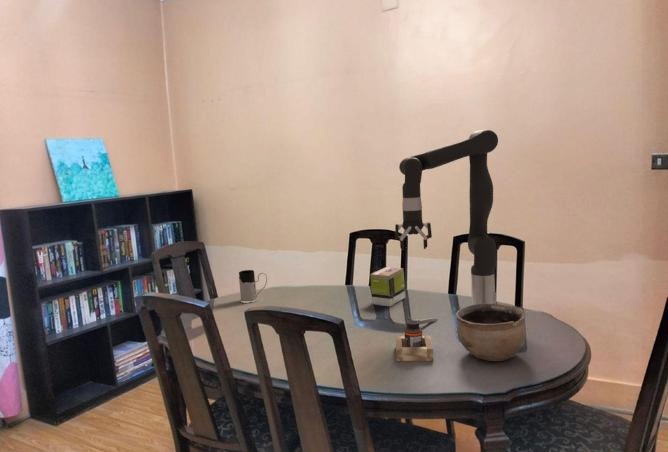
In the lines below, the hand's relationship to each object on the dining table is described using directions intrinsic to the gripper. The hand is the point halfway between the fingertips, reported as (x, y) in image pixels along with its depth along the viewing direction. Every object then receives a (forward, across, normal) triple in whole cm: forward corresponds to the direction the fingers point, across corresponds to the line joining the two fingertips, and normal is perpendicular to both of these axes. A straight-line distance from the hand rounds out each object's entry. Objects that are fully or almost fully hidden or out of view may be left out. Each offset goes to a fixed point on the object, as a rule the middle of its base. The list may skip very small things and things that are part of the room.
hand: (413, 249), depth 193 cm
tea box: (+30, +11, -30) cm, 44 cm away
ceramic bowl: (+30, -22, +35) cm, 51 cm away
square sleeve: (+30, +3, +32) cm, 44 cm away
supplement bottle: (+30, +3, +32) cm, 44 cm away
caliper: (+31, -2, +6) cm, 31 cm away
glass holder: (+30, +78, -38) cm, 92 cm away
